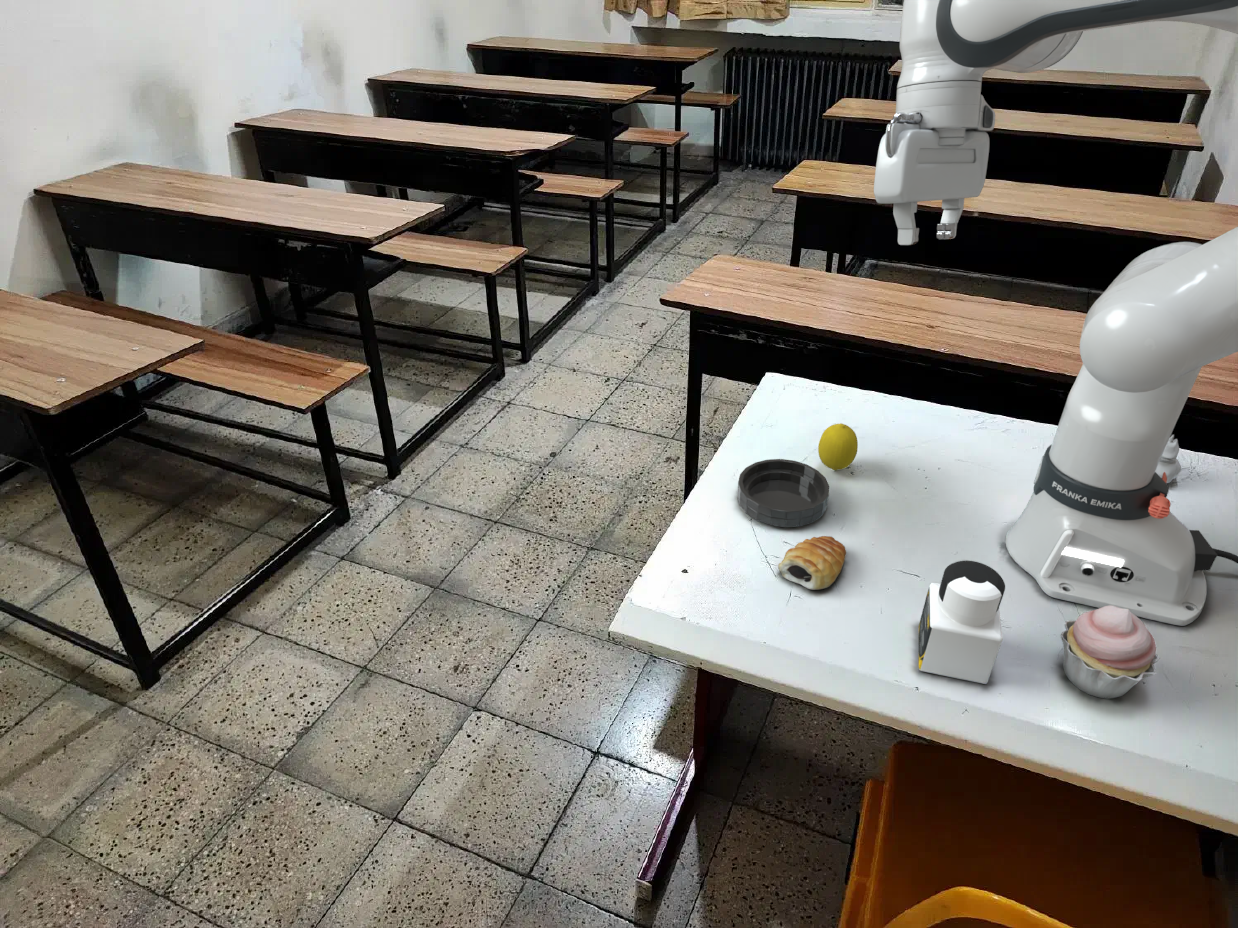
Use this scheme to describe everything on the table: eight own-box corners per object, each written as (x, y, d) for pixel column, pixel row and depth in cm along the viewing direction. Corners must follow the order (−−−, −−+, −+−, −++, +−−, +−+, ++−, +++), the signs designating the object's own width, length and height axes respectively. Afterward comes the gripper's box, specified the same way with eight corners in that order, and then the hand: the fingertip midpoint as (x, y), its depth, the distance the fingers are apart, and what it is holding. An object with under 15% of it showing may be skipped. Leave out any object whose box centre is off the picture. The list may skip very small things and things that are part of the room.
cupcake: (1164, 704, 85) (1201, 637, 80) (1082, 717, 84) (1113, 649, 79) (1107, 639, 93) (1137, 574, 87) (1031, 649, 92) (1056, 584, 86)
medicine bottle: (917, 626, 95) (938, 547, 89) (983, 638, 94) (1009, 559, 87) (917, 671, 90) (940, 591, 83) (987, 685, 88) (1016, 604, 81)
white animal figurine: (1135, 487, 117) (1155, 440, 112) (1127, 462, 122) (1145, 416, 118) (1178, 493, 116) (1200, 446, 111) (1167, 467, 121) (1188, 421, 116)
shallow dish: (839, 493, 117) (842, 475, 115) (806, 540, 108) (809, 522, 107) (759, 467, 123) (761, 450, 121) (722, 511, 114) (723, 492, 112)
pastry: (812, 539, 109) (815, 516, 106) (858, 561, 105) (863, 538, 103) (773, 575, 103) (776, 552, 101) (821, 600, 99) (825, 576, 97)
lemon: (853, 482, 119) (862, 436, 115) (815, 478, 120) (821, 432, 116) (852, 461, 124) (860, 416, 119) (815, 457, 125) (822, 412, 120)
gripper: (918, 108, 83) (909, 248, 87) (1002, 114, 96) (990, 236, 100) (862, 114, 87) (856, 248, 92) (950, 119, 101) (941, 236, 105)
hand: (927, 241), depth 96 cm, fingers open, 8 cm apart
